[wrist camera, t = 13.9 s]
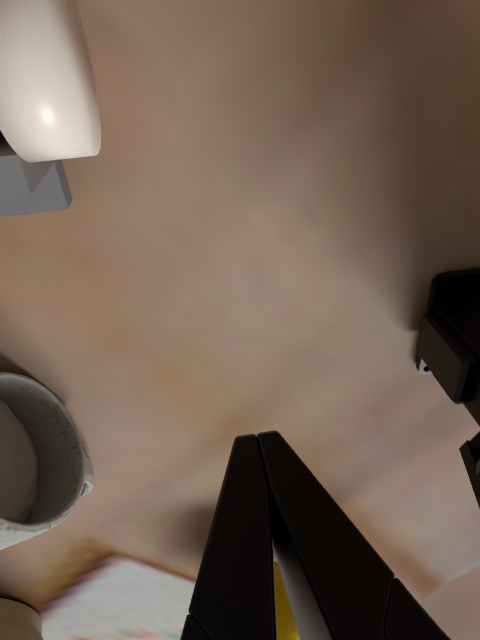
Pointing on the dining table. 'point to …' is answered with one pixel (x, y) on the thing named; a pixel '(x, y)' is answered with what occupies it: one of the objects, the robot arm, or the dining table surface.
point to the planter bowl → (19, 621)
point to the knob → (46, 82)
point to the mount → (30, 184)
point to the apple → (283, 610)
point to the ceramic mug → (37, 460)
